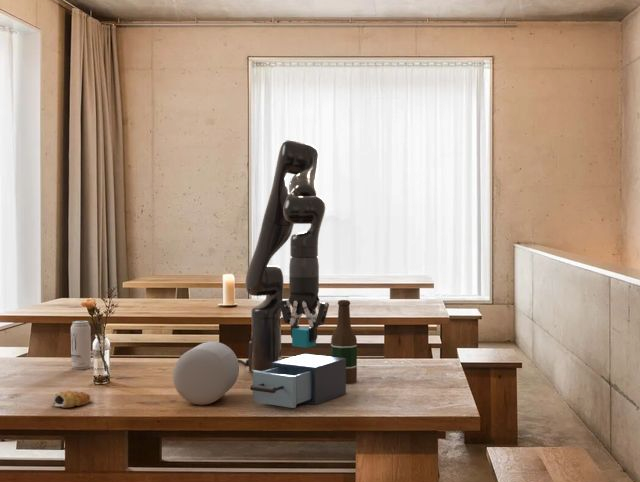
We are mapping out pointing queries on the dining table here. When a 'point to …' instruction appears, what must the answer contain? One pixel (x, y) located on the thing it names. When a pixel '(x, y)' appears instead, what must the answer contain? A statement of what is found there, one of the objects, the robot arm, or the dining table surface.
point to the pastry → (70, 399)
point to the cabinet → (320, 374)
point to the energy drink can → (80, 345)
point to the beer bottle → (345, 341)
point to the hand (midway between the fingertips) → (303, 340)
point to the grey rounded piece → (205, 373)
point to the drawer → (282, 386)
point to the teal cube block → (301, 337)
